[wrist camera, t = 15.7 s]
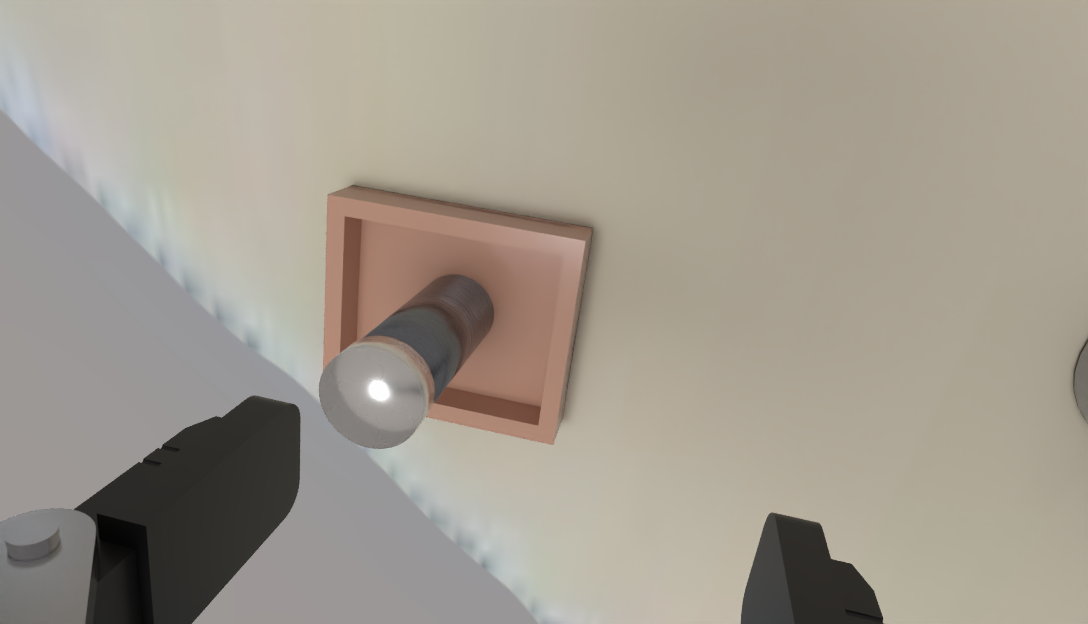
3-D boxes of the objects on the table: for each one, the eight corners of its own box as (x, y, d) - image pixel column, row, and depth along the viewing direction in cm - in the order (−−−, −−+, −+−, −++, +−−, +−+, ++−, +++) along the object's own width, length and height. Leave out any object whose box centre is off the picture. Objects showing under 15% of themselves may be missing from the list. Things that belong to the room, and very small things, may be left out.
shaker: (499, 280, 40) (425, 360, 29) (491, 354, 42) (418, 458, 30) (421, 266, 41) (319, 339, 30) (416, 340, 42) (318, 436, 31)
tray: (592, 228, 39) (585, 241, 36) (562, 420, 43) (553, 444, 40) (352, 185, 41) (327, 194, 38) (345, 373, 45) (322, 394, 42)
